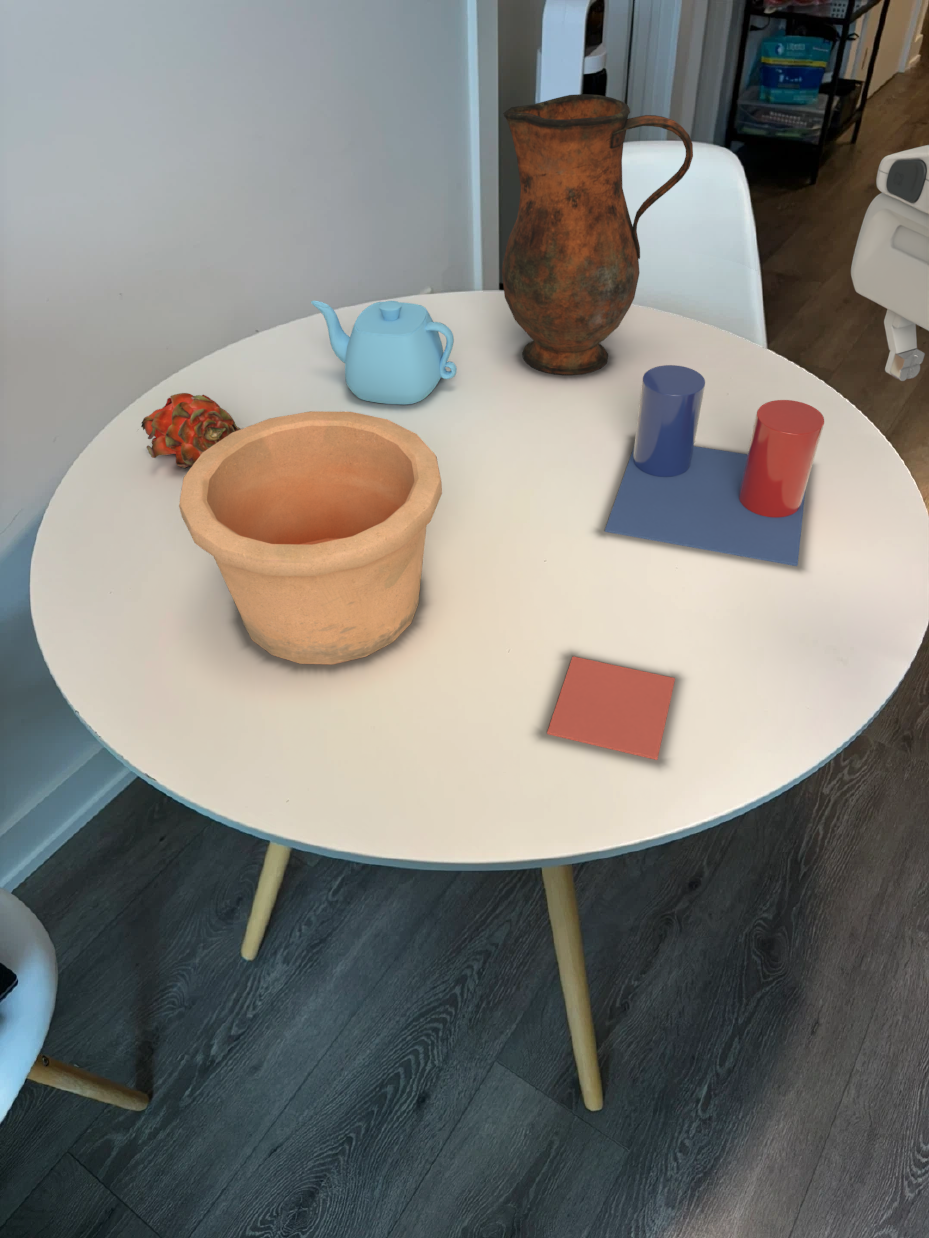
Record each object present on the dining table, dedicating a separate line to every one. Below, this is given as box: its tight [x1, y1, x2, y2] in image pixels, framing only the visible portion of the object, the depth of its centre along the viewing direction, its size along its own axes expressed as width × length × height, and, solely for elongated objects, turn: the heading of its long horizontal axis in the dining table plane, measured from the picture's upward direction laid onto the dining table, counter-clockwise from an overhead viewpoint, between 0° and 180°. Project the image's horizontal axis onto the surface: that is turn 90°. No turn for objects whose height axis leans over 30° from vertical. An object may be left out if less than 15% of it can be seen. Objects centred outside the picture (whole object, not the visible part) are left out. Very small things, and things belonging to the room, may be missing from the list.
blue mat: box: [604, 445, 806, 567], centre depth 98 cm, size 19×18×1 cm
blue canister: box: [633, 364, 706, 477], centre depth 99 cm, size 6×6×10 cm
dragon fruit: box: [136, 392, 242, 469], centre depth 104 cm, size 8×8×12 cm
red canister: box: [739, 399, 825, 518], centre depth 94 cm, size 6×6×10 cm
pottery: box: [178, 410, 443, 665], centre depth 83 cm, size 22×22×14 cm
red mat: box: [546, 655, 676, 761], centre depth 77 cm, size 9×9×1 cm
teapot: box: [310, 300, 458, 405], centre depth 114 cm, size 13×11×18 cm
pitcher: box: [501, 93, 694, 376], centre depth 111 cm, size 17×21×30 cm
